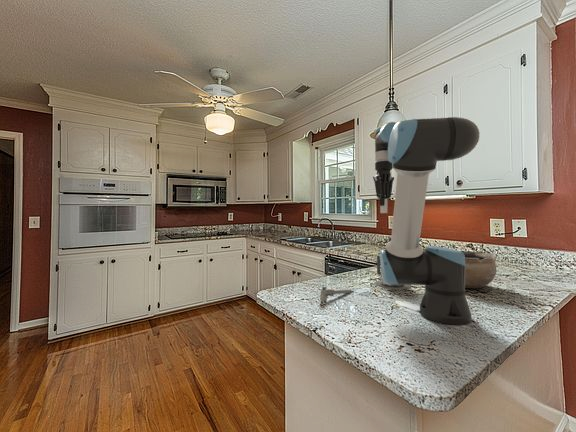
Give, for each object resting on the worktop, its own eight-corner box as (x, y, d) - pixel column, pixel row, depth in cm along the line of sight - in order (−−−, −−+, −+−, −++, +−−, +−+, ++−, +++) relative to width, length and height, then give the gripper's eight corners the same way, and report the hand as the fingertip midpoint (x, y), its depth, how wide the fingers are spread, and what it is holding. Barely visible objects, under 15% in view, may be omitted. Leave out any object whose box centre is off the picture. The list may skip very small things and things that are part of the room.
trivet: (418, 286, 125) (418, 284, 125) (399, 293, 115) (399, 291, 115) (387, 279, 138) (386, 277, 138) (367, 285, 128) (367, 283, 128)
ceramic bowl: (476, 296, 110) (476, 260, 110) (428, 283, 130) (429, 252, 130) (507, 289, 119) (507, 255, 119) (458, 277, 139) (459, 248, 139)
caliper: (322, 303, 105) (322, 287, 105) (320, 303, 106) (320, 287, 106) (353, 292, 119) (353, 278, 119) (351, 291, 120) (351, 277, 119)
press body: (408, 284, 125) (408, 253, 125) (396, 288, 119) (396, 256, 119) (383, 279, 136) (383, 250, 135) (371, 282, 130) (371, 252, 129)
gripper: (385, 163, 130) (385, 212, 131) (367, 161, 123) (368, 213, 123) (399, 161, 124) (399, 212, 125) (382, 158, 116) (382, 213, 117)
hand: (383, 212), depth 124 cm, fingers closed
